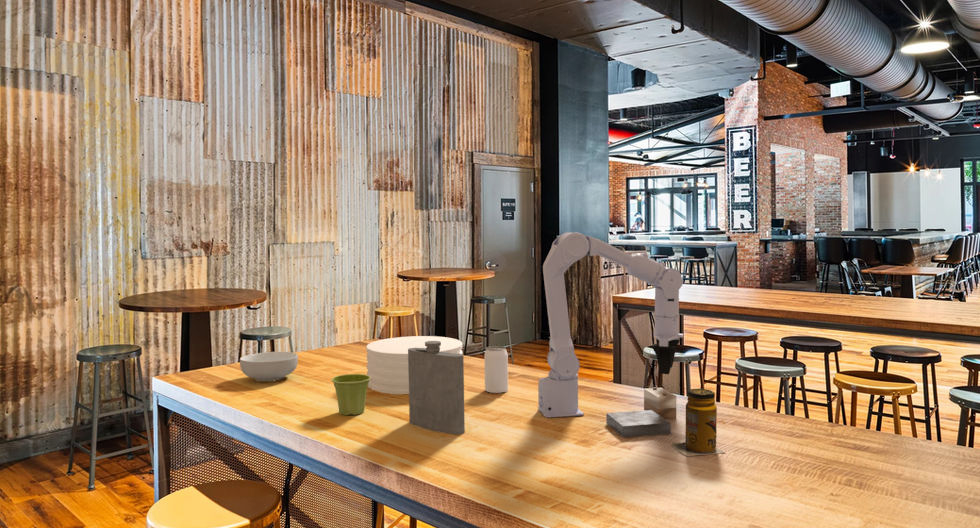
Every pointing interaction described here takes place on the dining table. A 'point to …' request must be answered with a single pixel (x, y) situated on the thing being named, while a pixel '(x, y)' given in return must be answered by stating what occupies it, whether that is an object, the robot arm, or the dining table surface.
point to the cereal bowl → (269, 365)
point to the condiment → (700, 424)
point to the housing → (660, 402)
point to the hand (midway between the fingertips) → (666, 370)
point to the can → (496, 369)
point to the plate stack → (399, 361)
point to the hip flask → (436, 389)
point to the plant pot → (351, 392)
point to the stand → (638, 423)
